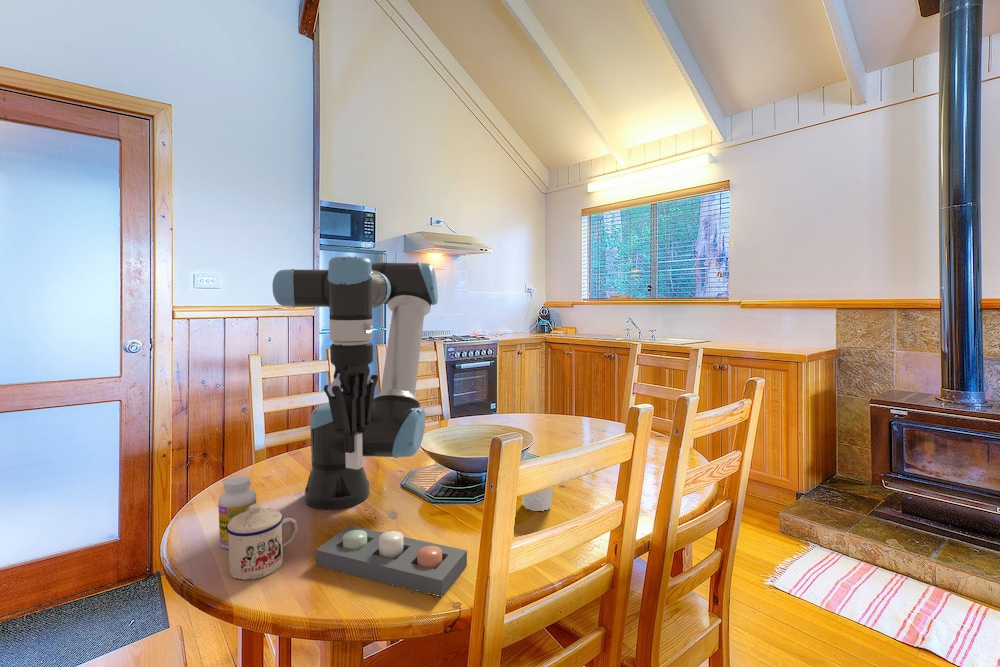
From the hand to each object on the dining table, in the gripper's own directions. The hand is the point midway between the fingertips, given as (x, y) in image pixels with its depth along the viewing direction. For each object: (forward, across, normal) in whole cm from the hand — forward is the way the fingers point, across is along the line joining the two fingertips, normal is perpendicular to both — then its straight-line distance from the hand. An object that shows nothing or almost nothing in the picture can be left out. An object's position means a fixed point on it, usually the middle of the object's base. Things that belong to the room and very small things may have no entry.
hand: (354, 467), depth 91 cm
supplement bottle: (+18, -4, +25) cm, 31 cm away
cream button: (+16, 0, -8) cm, 18 cm away
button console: (+18, 0, -8) cm, 19 cm away
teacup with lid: (+18, -8, +14) cm, 24 cm away
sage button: (+17, 0, 0) cm, 17 cm away
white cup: (+18, +34, -26) cm, 46 cm away
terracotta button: (+17, 0, -16) cm, 23 cm away
